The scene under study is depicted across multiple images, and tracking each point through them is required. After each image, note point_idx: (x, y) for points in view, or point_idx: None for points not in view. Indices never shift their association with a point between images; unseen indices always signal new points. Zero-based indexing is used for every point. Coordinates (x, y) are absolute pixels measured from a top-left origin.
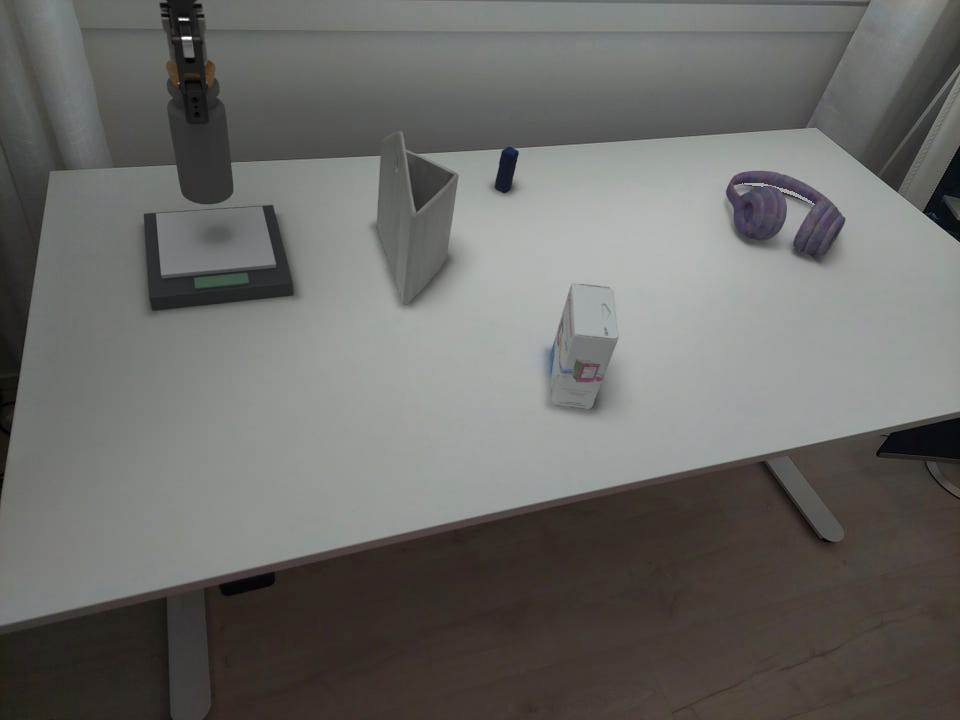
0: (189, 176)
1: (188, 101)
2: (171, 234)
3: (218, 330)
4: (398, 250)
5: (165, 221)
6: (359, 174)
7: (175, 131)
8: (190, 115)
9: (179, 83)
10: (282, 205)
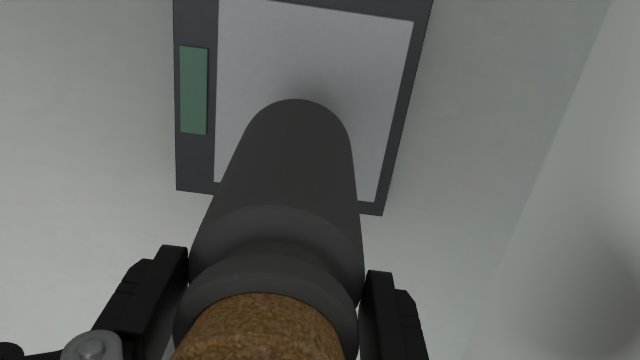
0: (242, 140)
1: (100, 315)
2: (337, 37)
3: (122, 54)
4: (167, 345)
5: (381, 34)
6: (444, 336)
7: (239, 182)
8: (125, 276)
9: (78, 355)
10: (408, 222)
